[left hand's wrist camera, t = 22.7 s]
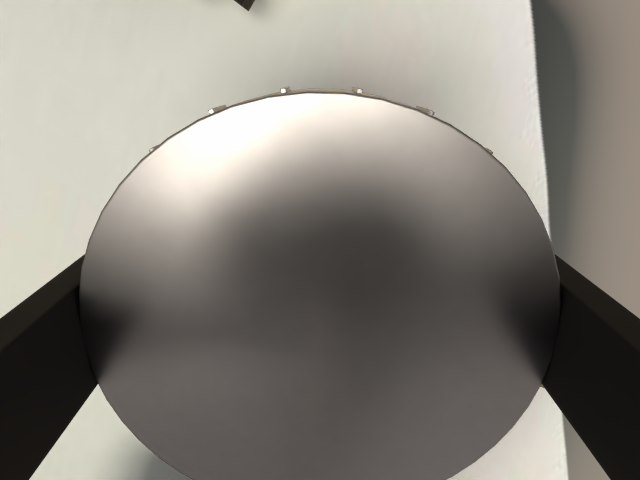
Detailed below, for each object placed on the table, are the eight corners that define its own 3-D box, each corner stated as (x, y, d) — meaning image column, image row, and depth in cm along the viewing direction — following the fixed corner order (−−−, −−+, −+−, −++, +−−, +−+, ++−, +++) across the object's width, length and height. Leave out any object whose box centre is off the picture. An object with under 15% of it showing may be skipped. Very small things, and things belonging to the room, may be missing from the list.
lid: (79, 402, 13) (43, 451, 11) (162, 6, 9) (127, -9, 8) (420, 495, 14) (433, 552, 13) (611, 182, 11) (666, 202, 9)
